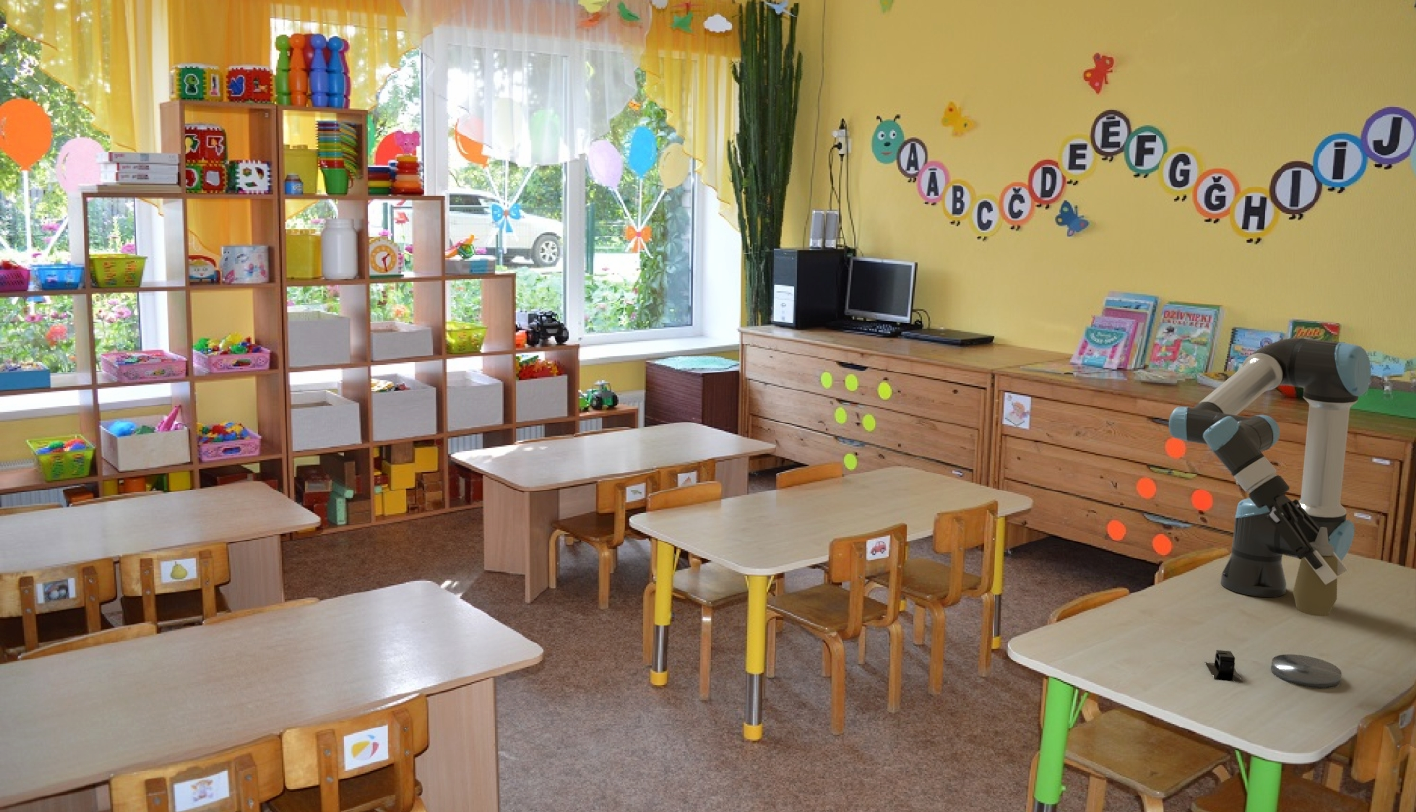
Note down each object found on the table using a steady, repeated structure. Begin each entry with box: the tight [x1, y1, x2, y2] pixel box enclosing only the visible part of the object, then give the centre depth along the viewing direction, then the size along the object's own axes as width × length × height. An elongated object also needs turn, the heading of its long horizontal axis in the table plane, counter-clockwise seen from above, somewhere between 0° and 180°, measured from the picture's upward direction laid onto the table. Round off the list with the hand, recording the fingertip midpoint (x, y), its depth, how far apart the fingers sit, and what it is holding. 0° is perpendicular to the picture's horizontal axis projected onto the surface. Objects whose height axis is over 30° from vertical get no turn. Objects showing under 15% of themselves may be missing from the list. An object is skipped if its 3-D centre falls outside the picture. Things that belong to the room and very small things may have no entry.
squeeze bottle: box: [1292, 527, 1338, 617], centre depth 247 cm, size 8×8×18 cm
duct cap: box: [1270, 653, 1343, 689], centre depth 250 cm, size 13×13×2 cm
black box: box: [1204, 649, 1244, 683], centre depth 251 cm, size 12×7×5 cm, turn 170°
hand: (1336, 577), depth 244 cm, fingers closed on squeeze bottle, 6 cm apart
